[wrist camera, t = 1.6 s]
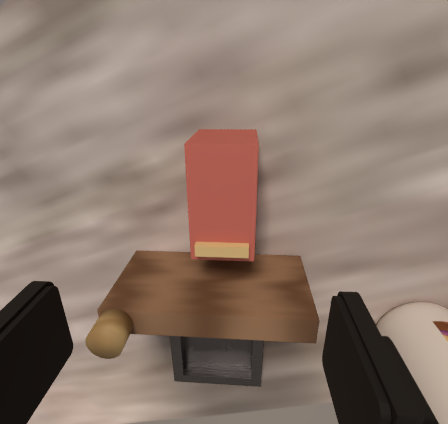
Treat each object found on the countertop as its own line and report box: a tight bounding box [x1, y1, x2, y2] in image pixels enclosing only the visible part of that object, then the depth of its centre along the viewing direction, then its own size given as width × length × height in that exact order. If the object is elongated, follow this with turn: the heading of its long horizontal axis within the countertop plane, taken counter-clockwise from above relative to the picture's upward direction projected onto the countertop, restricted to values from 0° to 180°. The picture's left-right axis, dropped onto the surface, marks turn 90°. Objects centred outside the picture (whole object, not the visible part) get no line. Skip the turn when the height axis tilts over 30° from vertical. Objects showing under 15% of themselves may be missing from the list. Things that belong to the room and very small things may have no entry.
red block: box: [184, 130, 259, 261], centre depth 22 cm, size 4×8×7 cm, turn 0°
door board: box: [86, 251, 319, 359], centre depth 24 cm, size 15×2×10 cm, turn 90°
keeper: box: [170, 336, 263, 386], centre depth 30 cm, size 9×12×2 cm
